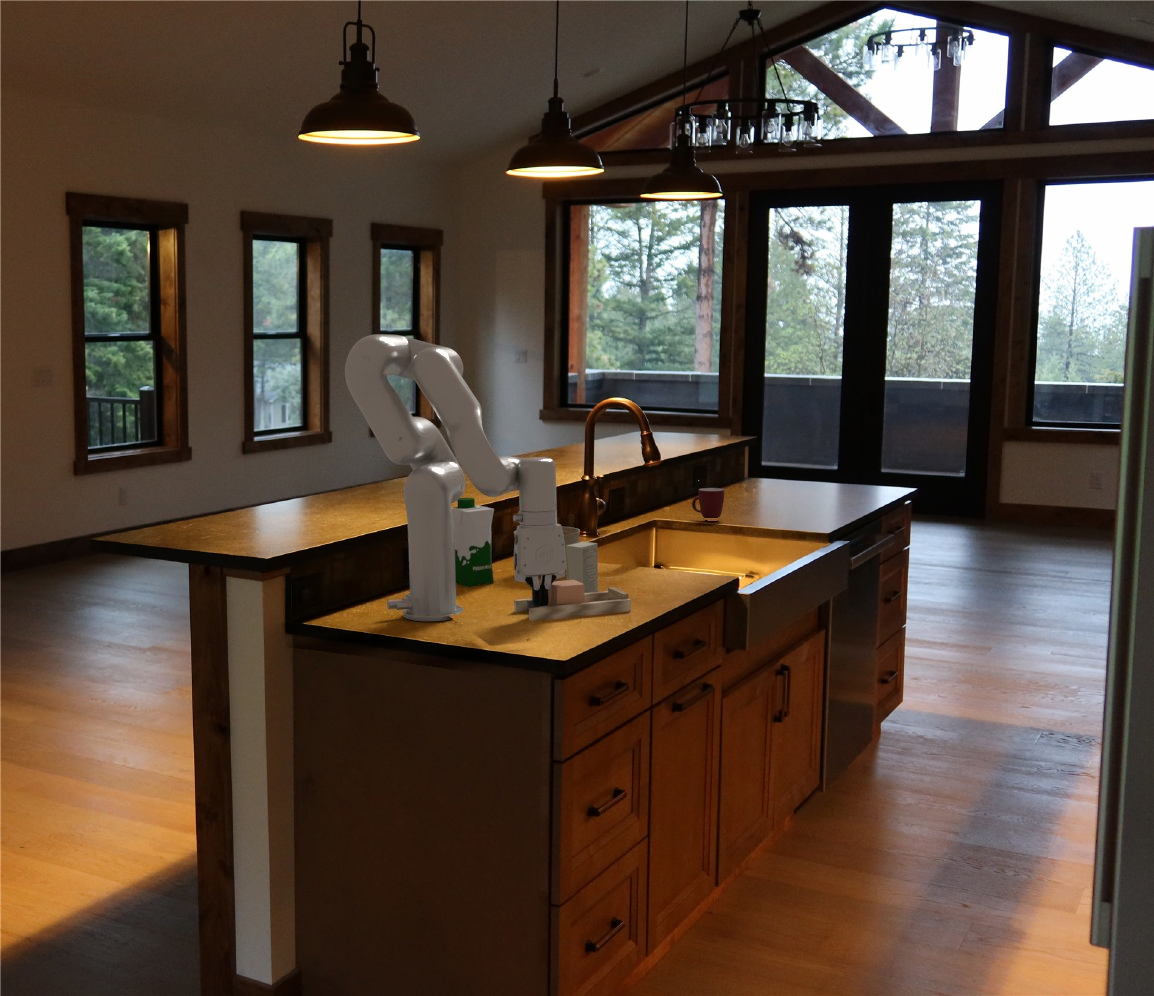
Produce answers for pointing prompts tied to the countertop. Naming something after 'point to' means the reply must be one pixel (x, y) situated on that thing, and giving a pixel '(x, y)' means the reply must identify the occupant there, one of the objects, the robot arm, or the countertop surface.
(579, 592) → the block
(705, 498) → the mug
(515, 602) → the chute
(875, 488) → the countertop surface
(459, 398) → the robot arm
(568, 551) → the skincare box
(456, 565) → the milk carton
